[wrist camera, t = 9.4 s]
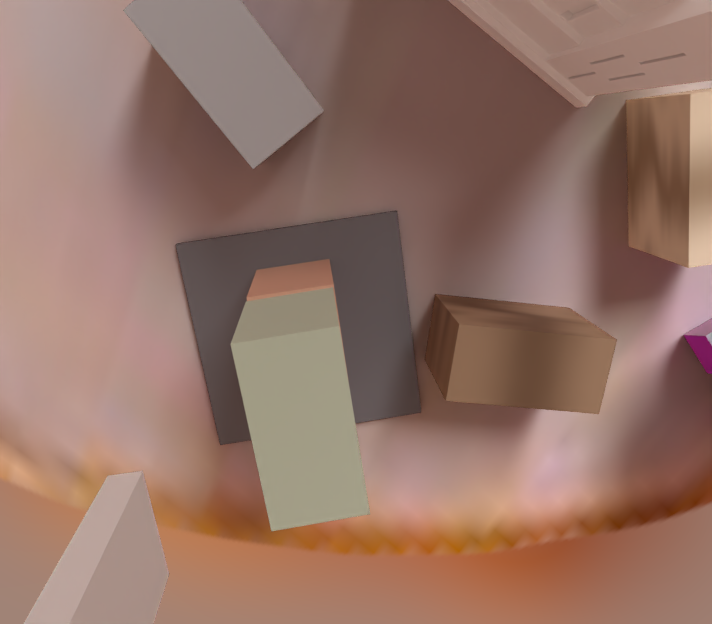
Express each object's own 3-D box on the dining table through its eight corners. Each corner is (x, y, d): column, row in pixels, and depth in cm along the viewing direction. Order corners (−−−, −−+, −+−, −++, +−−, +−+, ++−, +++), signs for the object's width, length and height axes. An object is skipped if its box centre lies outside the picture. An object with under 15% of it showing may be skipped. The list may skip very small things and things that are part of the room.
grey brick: (156, 32, 31) (123, 10, 25) (218, -22, 31) (198, -57, 25) (262, 162, 33) (252, 169, 28) (321, 114, 33) (324, 110, 27)
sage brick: (245, 301, 29) (230, 343, 23) (332, 287, 29) (339, 326, 23) (278, 457, 31) (271, 531, 25) (358, 443, 31) (370, 514, 25)
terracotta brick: (256, 269, 34) (246, 297, 29) (329, 258, 34) (333, 284, 29) (281, 403, 37) (276, 453, 31) (349, 392, 37) (357, 441, 31)
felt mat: (176, 243, 34) (175, 244, 34) (396, 210, 34) (396, 211, 34) (221, 441, 37) (220, 444, 37) (420, 409, 38) (421, 412, 37)
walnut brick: (424, 359, 37) (445, 400, 31) (434, 293, 36) (459, 324, 30) (554, 371, 38) (598, 413, 32) (568, 307, 37) (616, 339, 31)
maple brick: (625, 100, 34) (690, 93, 28) (697, 89, 34) (777, 81, 28) (627, 246, 36) (688, 267, 30) (695, 235, 36) (768, 255, 30)
